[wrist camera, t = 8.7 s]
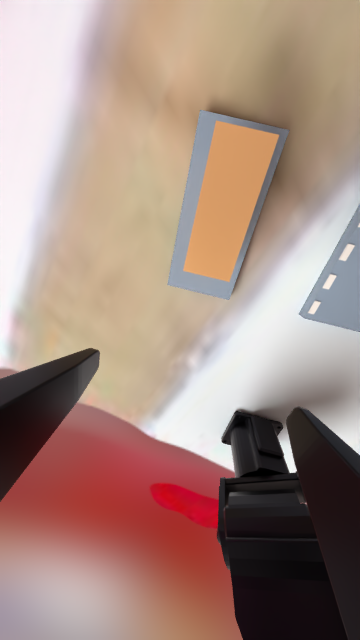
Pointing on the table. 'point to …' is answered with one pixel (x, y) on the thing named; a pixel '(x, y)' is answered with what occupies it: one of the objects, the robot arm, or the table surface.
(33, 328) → the table surface
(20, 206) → the table surface
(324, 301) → the ticket board
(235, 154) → the stub
